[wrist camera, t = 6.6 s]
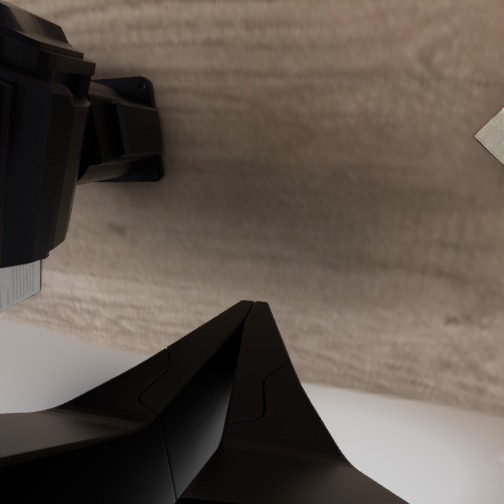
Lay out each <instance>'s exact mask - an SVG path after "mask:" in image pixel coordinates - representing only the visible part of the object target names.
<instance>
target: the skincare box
mask: <svg viewBox="0 0 504 504" xmlns="http://www.w3.org/2000/svg"><path fill="white" fill-rule="evenodd" d="M39 291H40V260H39V261H36V262H33V263H30V264H26V265H20V266H15V267H9V268H3V269H0V313H1V312H3V311H5V310H7V309H8V308H10V307H12V306H14V305H15V304H17V303H19V302H21V301H23V300H25V299H26V298H28V297H30V296H32V295H34V294H35V293H37V292H39Z"/></svg>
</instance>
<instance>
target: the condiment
mask: <svg viewBox="0 0 504 504" xmlns="http://www.w3.org/2000/svg"><path fill="white" fill-rule="evenodd" d="M474 137H475V138H476V139H477V140H478V141H479V142H481V143H482V144H483V145H484V146H485V147H486V148H487V149H488V150H489V151H490V152H491V153H492V154H493V155H494V156H495V157H496V158H497V159H498V160H499V161H500V162H501V163H502V164H503V165H504V108H503V109H502V110H501V111H500V112H499V113H498V114H497V115H495V116H494V117H493V118H492V119H491V120H490V121H489V122H488V123H487V124H485V125H484V127H482V128H481V129H480V130H479V131H478V132H477V134H476V135H475V136H474Z"/></svg>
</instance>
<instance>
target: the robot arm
mask: <svg viewBox="0 0 504 504" xmlns="http://www.w3.org/2000/svg"><path fill="white" fill-rule="evenodd" d="M95 65H96V63H95V62H93V61H91V60H89V59H87V58H85V57H84V53H82V52H81V51H79V50H77V49H75V48H73V47H72V46H71V45H69V43H68V41H67V39H66V37H65V35H64V33H63V31H62V28H61V27H60V26H58V25H56V24H54V23H52V22H50V21H48V20H46V19H44V18H42V17H39V16H37V15H35V14H33V13H31V12H28V11H26V10H24V9H22V8H19V7H17V6H15V5H12V4H10V3H7V2H5V1H2V0H0V269H3V268H9V267H15V266H20V265H26V264H30V263H33V262H36V261H39V260H42V259H45V258H47V257H48V256H49V251H50V250H53V249H54V248H55V247H56V246H58V245H59V244H60V243H62V242H63V241H64V240H65V237H66V234H67V232H68V227H69V222H70V216H71V211H72V205H73V200H74V194H75V188H76V185H79V184H85V183H90V182H157V181H161V180H162V179H163V177H164V170H163V163H162V155H161V153H162V151H163V147H162V139H161V131H160V124H159V116H158V111H157V110H156V109H155V103H154V96H153V88H152V84H151V82H150V80H149V79H147V78H145V77H142V76H138V77H126V78H114V79H102V80H91V75H94V71H95ZM143 82H144V83H145V89H144V90H143V89H142V87H141V86H142V83H143ZM155 171H156V172H157V173H158V177H156V176H155V175H154V172H155ZM0 504H409V503H408V502H406V501H405V500H403V499H402V498H400V497H399V496H397V495H395V494H394V493H392V492H391V491H389V490H388V489H386V488H385V487H383V486H382V485H380V484H378V483H377V482H376V481H374V480H372V479H371V478H369V477H368V476H366V475H365V474H363V473H362V472H360V471H359V470H357V469H356V468H355V467H354V466H353V465H352V464H351V463H350V462H349V461H348V460H347V459H346V457H345V456H344V455H343V453H342V452H341V450H340V449H339V447H338V446H337V445H336V443H335V441H334V440H333V438H332V436H331V434H330V433H329V431H328V429H327V428H326V426H325V424H324V423H323V421H322V420H321V418H320V417H319V415H318V413H317V411H316V410H315V408H314V406H313V405H312V403H311V401H310V400H309V398H308V396H307V394H306V392H305V391H304V389H303V387H302V385H301V383H300V381H299V378H298V376H297V374H296V372H295V369H294V367H293V364H292V363H291V360H290V357H289V355H288V352H287V350H286V347H285V345H284V342H283V340H282V337H281V335H280V332H279V329H278V327H277V324H276V322H275V319H274V317H273V314H272V312H271V309H270V307H269V304H268V303H267V302H261V301H256V302H255V303H254V301H247V300H242V301H240V302H238V303H237V304H235V305H234V306H232V307H230V308H229V309H227V310H226V311H224V312H222V313H221V314H219V315H218V316H216V317H214V318H213V319H211V320H210V321H208V322H206V323H205V324H203V325H202V326H200V327H198V328H197V329H195V330H194V331H192V332H190V333H189V334H187V335H186V336H184V337H182V338H181V339H179V340H178V341H176V342H174V343H173V344H171V345H170V346H168V347H167V349H166V348H165V349H163V350H162V351H160V352H158V353H157V354H155V355H153V356H152V357H150V358H148V359H147V360H145V361H143V362H142V363H140V364H138V365H137V366H135V367H133V368H131V369H129V370H128V371H126V372H124V373H122V374H120V375H118V376H116V377H115V378H112V379H110V380H109V381H107V382H105V383H103V384H101V385H99V386H97V387H95V388H93V389H91V390H89V391H88V392H86V393H84V394H82V395H80V396H78V397H76V398H74V399H73V400H70V401H68V402H66V403H64V404H62V405H59V406H57V407H54V408H51V409H47V410H43V411H37V412H30V413H9V414H8V413H7V414H0Z"/></svg>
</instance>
